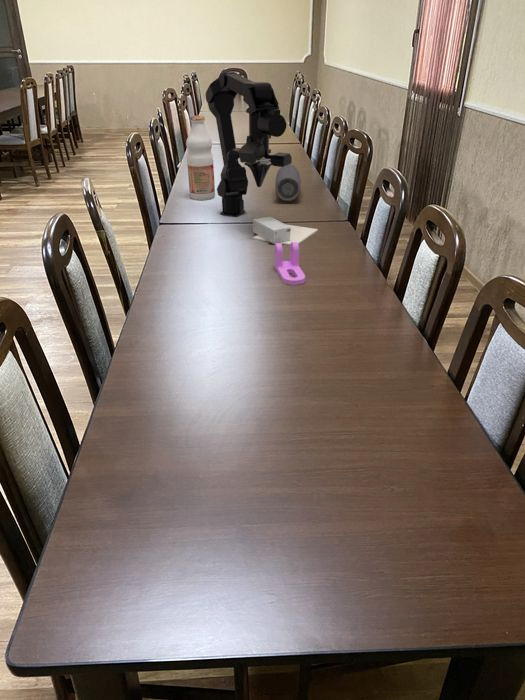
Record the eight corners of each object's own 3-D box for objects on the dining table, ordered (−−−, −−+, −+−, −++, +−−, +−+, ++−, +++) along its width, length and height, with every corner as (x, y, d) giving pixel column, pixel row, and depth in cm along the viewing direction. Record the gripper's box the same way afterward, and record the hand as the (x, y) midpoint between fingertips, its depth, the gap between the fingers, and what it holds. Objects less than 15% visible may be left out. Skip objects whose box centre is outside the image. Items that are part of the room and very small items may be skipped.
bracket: (274, 267, 140) (274, 241, 137) (295, 265, 141) (295, 239, 138) (285, 286, 129) (285, 259, 126) (307, 284, 130) (308, 257, 126)
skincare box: (252, 232, 163) (272, 245, 154) (252, 217, 161) (272, 230, 152) (270, 229, 165) (290, 241, 157) (270, 214, 163) (291, 226, 154)
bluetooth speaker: (301, 204, 191) (301, 175, 186) (274, 204, 192) (274, 175, 186) (299, 189, 211) (300, 162, 206) (276, 188, 211) (276, 162, 206)
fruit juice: (184, 197, 201) (178, 116, 187) (204, 192, 206) (199, 113, 192) (200, 202, 195) (195, 118, 181) (220, 197, 200) (216, 116, 186)
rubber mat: (252, 238, 159) (252, 237, 159) (277, 224, 171) (277, 223, 171) (295, 246, 153) (295, 244, 153) (317, 230, 165) (317, 229, 165)
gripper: (216, 133, 151) (218, 189, 159) (275, 138, 144) (274, 197, 152) (236, 127, 160) (237, 180, 168) (293, 132, 152) (291, 188, 160)
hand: (259, 186), depth 162 cm, fingers closed
